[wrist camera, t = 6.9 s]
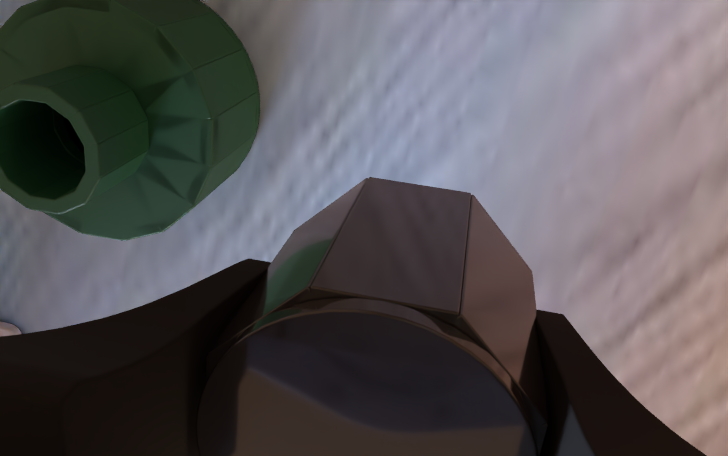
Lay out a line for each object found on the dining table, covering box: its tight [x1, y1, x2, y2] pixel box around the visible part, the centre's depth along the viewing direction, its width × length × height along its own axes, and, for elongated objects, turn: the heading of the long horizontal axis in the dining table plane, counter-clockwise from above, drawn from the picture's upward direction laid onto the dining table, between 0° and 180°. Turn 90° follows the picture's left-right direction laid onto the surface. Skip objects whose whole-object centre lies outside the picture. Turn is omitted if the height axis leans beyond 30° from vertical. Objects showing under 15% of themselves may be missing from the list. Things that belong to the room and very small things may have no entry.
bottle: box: [0, 0, 260, 241], centre depth 19 cm, size 7×7×6 cm
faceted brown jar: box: [196, 177, 549, 456], centre depth 13 cm, size 5×5×6 cm
